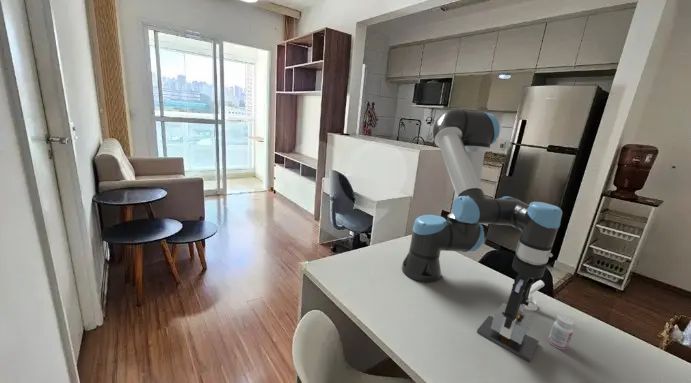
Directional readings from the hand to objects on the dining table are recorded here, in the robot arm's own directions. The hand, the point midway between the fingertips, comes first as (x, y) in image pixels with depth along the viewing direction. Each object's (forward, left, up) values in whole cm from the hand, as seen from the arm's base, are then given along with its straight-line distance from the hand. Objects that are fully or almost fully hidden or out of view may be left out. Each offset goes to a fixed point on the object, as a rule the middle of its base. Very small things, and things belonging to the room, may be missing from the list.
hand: (509, 328), depth 86 cm
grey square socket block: (0, 0, 0) cm, 0 cm away
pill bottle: (+11, +10, -3) cm, 15 cm away
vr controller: (-1, +25, -4) cm, 25 cm away
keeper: (0, 0, -3) cm, 3 cm away
